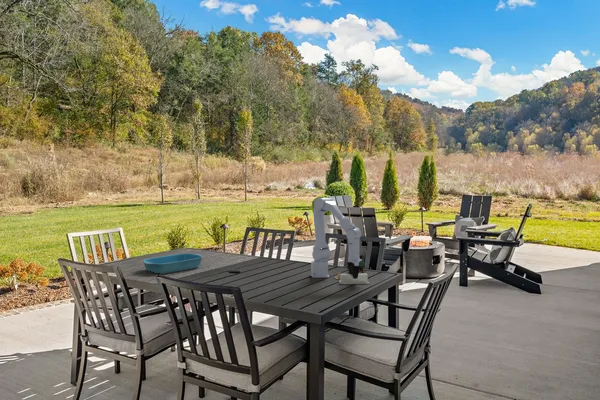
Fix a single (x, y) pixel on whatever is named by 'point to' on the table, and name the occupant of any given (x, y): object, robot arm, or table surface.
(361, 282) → the mat
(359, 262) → the binoculars
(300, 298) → the table surface
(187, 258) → the casserole dish
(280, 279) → the table surface
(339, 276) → the rack
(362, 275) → the rail
